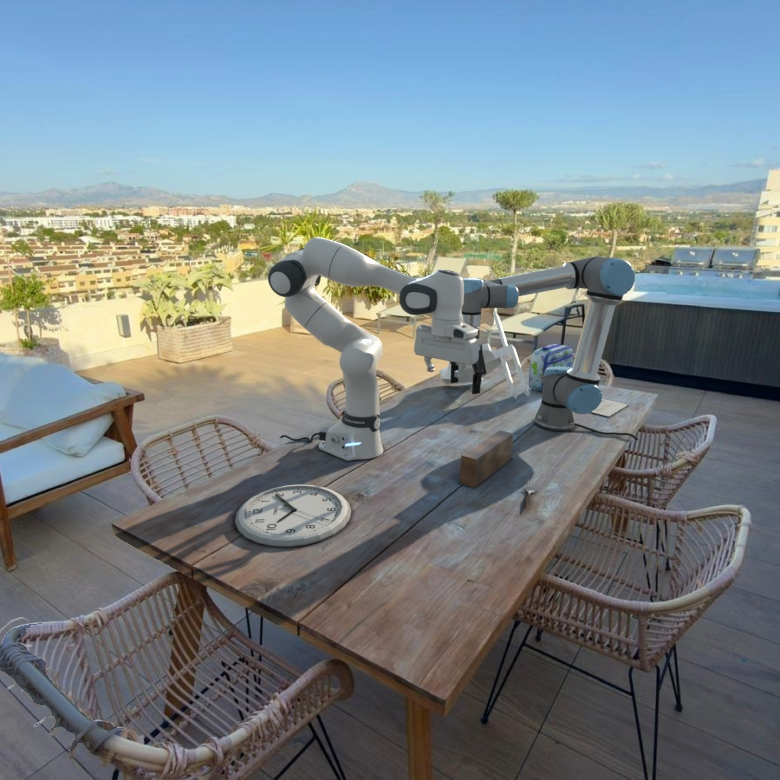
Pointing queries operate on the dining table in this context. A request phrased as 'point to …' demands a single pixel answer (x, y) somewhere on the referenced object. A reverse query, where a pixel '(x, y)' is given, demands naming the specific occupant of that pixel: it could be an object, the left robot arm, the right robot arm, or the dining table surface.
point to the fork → (529, 490)
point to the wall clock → (293, 515)
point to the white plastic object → (492, 363)
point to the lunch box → (548, 362)
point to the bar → (486, 458)
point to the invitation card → (608, 407)
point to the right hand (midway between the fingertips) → (464, 388)
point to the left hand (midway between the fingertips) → (444, 374)
